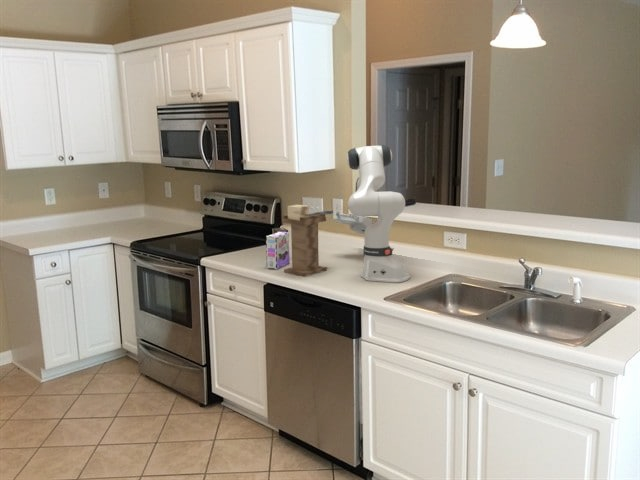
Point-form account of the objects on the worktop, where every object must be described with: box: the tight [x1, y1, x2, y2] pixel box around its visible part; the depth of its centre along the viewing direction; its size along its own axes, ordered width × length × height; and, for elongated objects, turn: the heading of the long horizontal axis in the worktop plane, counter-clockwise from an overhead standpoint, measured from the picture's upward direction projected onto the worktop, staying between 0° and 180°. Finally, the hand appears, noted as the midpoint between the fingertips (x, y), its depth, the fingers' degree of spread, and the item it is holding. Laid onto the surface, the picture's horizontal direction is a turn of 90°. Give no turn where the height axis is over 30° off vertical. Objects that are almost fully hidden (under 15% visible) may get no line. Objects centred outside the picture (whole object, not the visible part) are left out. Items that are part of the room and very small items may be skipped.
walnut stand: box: [282, 214, 328, 278], centre depth 281 cm, size 16×13×28 cm
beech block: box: [287, 204, 334, 220], centre depth 282 cm, size 26×8×6 cm, turn 137°
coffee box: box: [271, 227, 289, 234], centre depth 309 cm, size 9×6×16 cm
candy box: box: [265, 231, 291, 270], centre depth 293 cm, size 14×6×16 cm, turn 155°
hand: (343, 214), depth 299 cm, fingers open, 8 cm apart
